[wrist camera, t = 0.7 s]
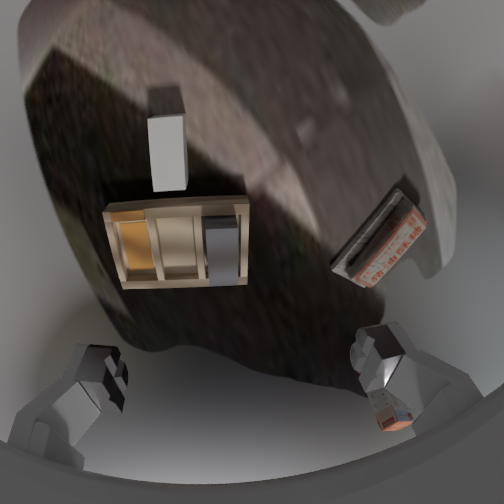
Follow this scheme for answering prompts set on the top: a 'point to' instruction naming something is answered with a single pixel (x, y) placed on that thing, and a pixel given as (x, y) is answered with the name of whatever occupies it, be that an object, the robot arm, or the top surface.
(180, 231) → the rack
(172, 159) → the white rectangular block
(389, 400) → the cracker box
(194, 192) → the top surface
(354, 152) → the top surface
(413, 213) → the packaged product
